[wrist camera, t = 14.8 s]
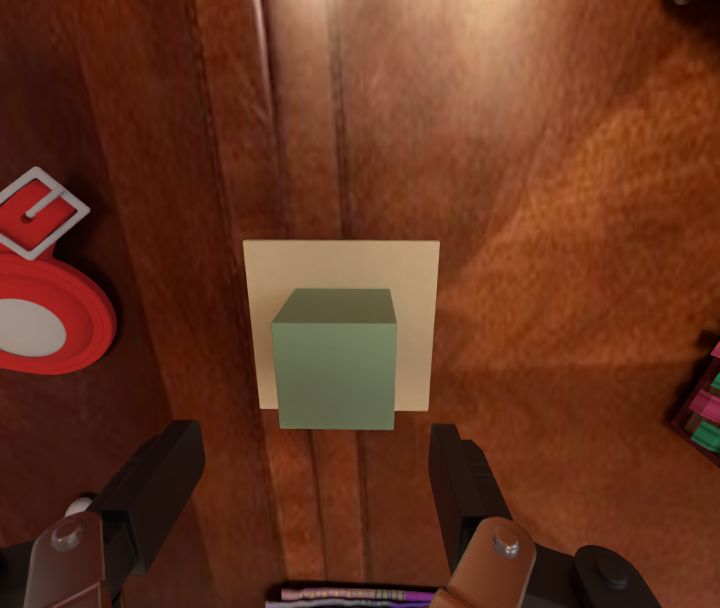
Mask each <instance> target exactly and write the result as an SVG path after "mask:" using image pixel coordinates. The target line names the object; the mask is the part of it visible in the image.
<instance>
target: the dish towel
mask: <svg viewBox="0 0 720 608" xmlns="http://www.w3.org/2000/svg"><path fill="white" fill-rule="evenodd" d="M435 594H436V593H430V592H418V591H404V590H389V589H359V588H344V587H342V588H335V587H318V588H305V589H301V590H294V589H282V592H281V602H276V601H266V603H265V608H428V606H429V605H430V603H431V601H432V599H433V597H434V595H435Z"/></svg>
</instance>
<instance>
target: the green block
mask: <svg viewBox="0 0 720 608" xmlns="http://www.w3.org/2000/svg"><path fill="white" fill-rule="evenodd" d="M271 331H272V343H273V354H274V366H275V377H276V389H277V400H278V412H279V423H280V428H282V429H355V430H393V429H394V408H395V378H396V348H397V321H396V316H395V311H394V306H393V301H392V296H391V291H390V289H303V288H296V289H295V290H294V291H293V293H292V294H291V296H290V297H289V298H288V300H287V301H286V303H285V304H284V305H283V307H282V308H281V310H280V311H279V312H278V314H277V315H276V317H275V318H274V319H273V321H272V322H271Z"/></svg>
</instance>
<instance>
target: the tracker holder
mask: <svg viewBox="0 0 720 608" xmlns="http://www.w3.org/2000/svg"><path fill="white" fill-rule="evenodd" d="M34 178H37V179H36V180H34V181H33V182H31V183H29V182H30V181H32V180H33V179H34ZM28 183H29V184H28ZM26 184H27V185H26ZM25 185H26V186H25ZM22 187H23V188H22ZM21 188H22V189H21ZM20 189H21V190H20ZM17 191H18V192H17ZM16 192H17V193H16ZM15 193H16V194H15ZM13 194H14V195H13ZM12 195H13V196H12ZM11 196H12V197H11ZM10 197H11V198H10ZM8 198H10V199H9V200H8V201H7V202H6V203H5V204H4V205H3V206H2V207H1V208H0V368H4V369H9V370H15V371H21V372H28V373H36V374H48V375H53V374H64V373H69V372H73V371H76V370H80V369H82V368H85V367H87V366H89V365H91V364H92V363H94V362H96V361H97V360H98V359H99V358H100V357H101V356H102V355H103V354H104V353H105V352H106V350H107V349H108V347H109V346H110V345H111V343H112V341H113V339H114V336H115V334H116V328H117V320H116V315H115V311H114V308H113V306H112V304H111V302H110V300H109V298H108V297H107V296H106V294H105V293H104V292H103V290H102V289H101V288H100V287H99V286H98V285H97V284H96V283H95V282H94V281H93V280H91V279H90V278H89V277H88V276H86V275H85V274H84V273H82V272H81V271H79V270H77V269H76V268H74V267H72V266H70V265H68V264H66V263H64V262H61V261H59V260H56V259H54V257H53V256H52V253H53V250H54V247H55V244H56V241H57V240H58V239H59V238H60V237H61V236H62V235H63V234H65V233H66V232H67V231H68V230H69V229H70V228H72V227H73V226H74V225H75V224H76V223H78V222H79V221H80V220H81V219H82V218H83V217H85V216H86V215H87V214H88V213H89V212H90V208H89V207H88V206H86V205H85V204H84V203H83V202H81V201H80V200H79V199H78V198H76V197H75V196H74V195H73V194H71V193H70V192H69V191H68V190H67V189H65V188H64V187H63V186H62V185H60V184H59V183H58V182H57V181H55V180H54V179H53V178H52V177H51V176H49V175H48V174H47V173H46V172H44V171H43V170H42V169H41V168H39V167H35V166H34V167H33V168H32V169H30V170H29V171H28V172H26V173H25V174H24V175H22V176H21V177H20V178H18V179H17V180H16V181H15V182H13V183H12V184H11V185H9V186H8V187H7V188H5V189H4V190H3V191H1V192H0V204H2V203H3V202H4V201H6V200H7V199H8ZM77 211H78V212H77ZM76 212H77V213H76ZM75 213H76V214H75ZM74 214H75V215H74Z"/></svg>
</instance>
